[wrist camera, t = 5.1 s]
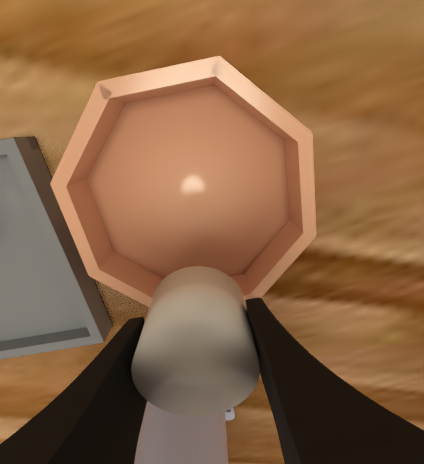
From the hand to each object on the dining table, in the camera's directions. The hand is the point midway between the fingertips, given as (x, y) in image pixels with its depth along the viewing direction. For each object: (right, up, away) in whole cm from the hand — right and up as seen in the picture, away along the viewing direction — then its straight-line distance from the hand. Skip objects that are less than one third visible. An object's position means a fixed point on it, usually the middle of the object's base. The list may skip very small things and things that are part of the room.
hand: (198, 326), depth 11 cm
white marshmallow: (0, +1, +1) cm, 1 cm away
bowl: (-1, +7, +7) cm, 10 cm away
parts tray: (-16, +2, +9) cm, 18 cm away
